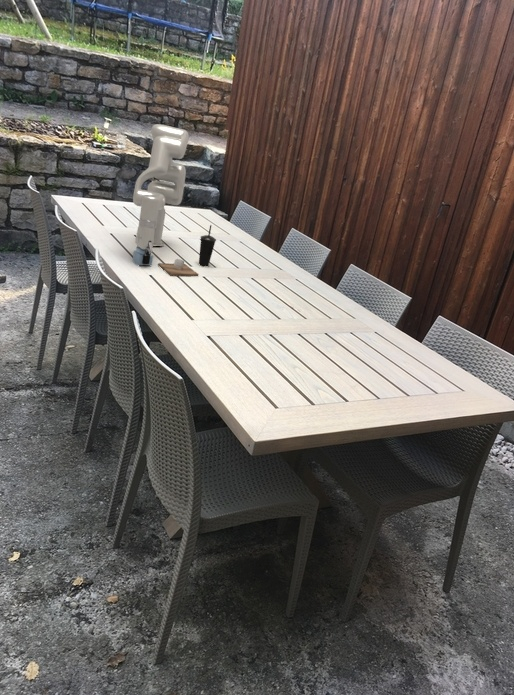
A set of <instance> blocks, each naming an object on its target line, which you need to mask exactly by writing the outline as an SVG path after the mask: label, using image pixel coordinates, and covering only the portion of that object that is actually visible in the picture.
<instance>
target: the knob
mask: <svg viewBox="0 0 514 695" xmlns="http://www.w3.org/2000/svg"><path fill="white" fill-rule="evenodd" d="M146 249H149V248H146ZM147 251H148V250H146V252H147ZM143 255H144V250H143V249H141V248H140V247H136V250H133V254H132V262H133V261H134V262H135V263H134V262H133V263H134V264H136V265H137V266H138V265H152V266H153V259H154V258H153V257H154V255H153V254H152V253H151V256H150V261H149V264H142V261H143Z"/></svg>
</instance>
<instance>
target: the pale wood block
mask: <svg viewBox="0 0 514 695" xmlns="http://www.w3.org/2000/svg"><path fill="white" fill-rule="evenodd" d="M173 264H174V269H177V270H182V269H183V265H184V264H185V260H183V259H180V258H176V259H175V260H174V263H173Z"/></svg>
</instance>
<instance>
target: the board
mask: <svg viewBox="0 0 514 695" xmlns="http://www.w3.org/2000/svg"><path fill="white" fill-rule="evenodd" d="M158 265H159V266H160V267H161V268H162V269H163V270H162V269H161V268H160V267H159V266H158ZM157 266H158V267H159V268H160V269H161V270H162V271H164V270H165V271H166V272H167V273H168V274H167V273H166V272H165V271H164V272H165V273H166V274H167V275H168V276H170V277H191V276H198V277H199V273H198V272H197V271H195V270H194V269H193V268H191V267H189V266H188V265H187V264H185V263H184V265H183V269H182V270H177V269H174V263H169V262H168V263H165V262H164V263H161V262H158V263H157Z"/></svg>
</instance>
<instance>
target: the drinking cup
mask: <svg viewBox="0 0 514 695" xmlns="http://www.w3.org/2000/svg"><path fill="white" fill-rule="evenodd" d="M208 230H209V231H208V235H207V234H204V235H201V236H200V246H199V259H198V265H199V264H200V265H199V266H201V265H202V266H201V267H204V266H208V267H209V265H210V263H211V258H212V254H213V251H214V248H215V244H216V242H217V239H216V238H215V237H214V236H212V235H211V230H212V225H211V224H210V226H209V229H208Z"/></svg>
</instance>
